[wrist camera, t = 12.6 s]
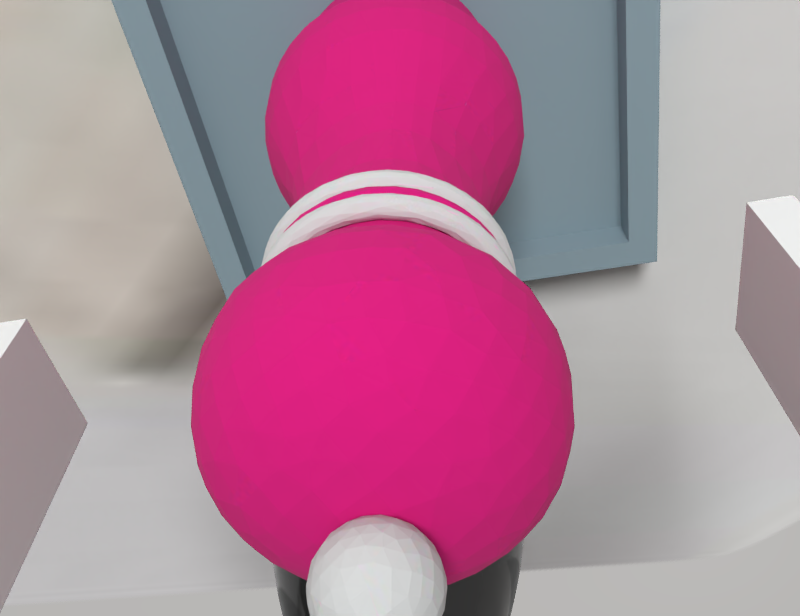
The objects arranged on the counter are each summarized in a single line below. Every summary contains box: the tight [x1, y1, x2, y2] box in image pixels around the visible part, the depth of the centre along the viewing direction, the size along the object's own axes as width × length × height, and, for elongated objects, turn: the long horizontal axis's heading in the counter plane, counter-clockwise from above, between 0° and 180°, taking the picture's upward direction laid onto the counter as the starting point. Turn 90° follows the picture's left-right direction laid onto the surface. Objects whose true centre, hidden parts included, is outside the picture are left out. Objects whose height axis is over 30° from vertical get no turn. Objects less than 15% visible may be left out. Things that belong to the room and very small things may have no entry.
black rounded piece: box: [273, 539, 524, 616], centre depth 28 cm, size 10×10×15 cm
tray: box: [112, 0, 660, 300], centre depth 25 cm, size 16×16×2 cm
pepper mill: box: [191, 0, 574, 616], centre depth 17 cm, size 7×7×20 cm
